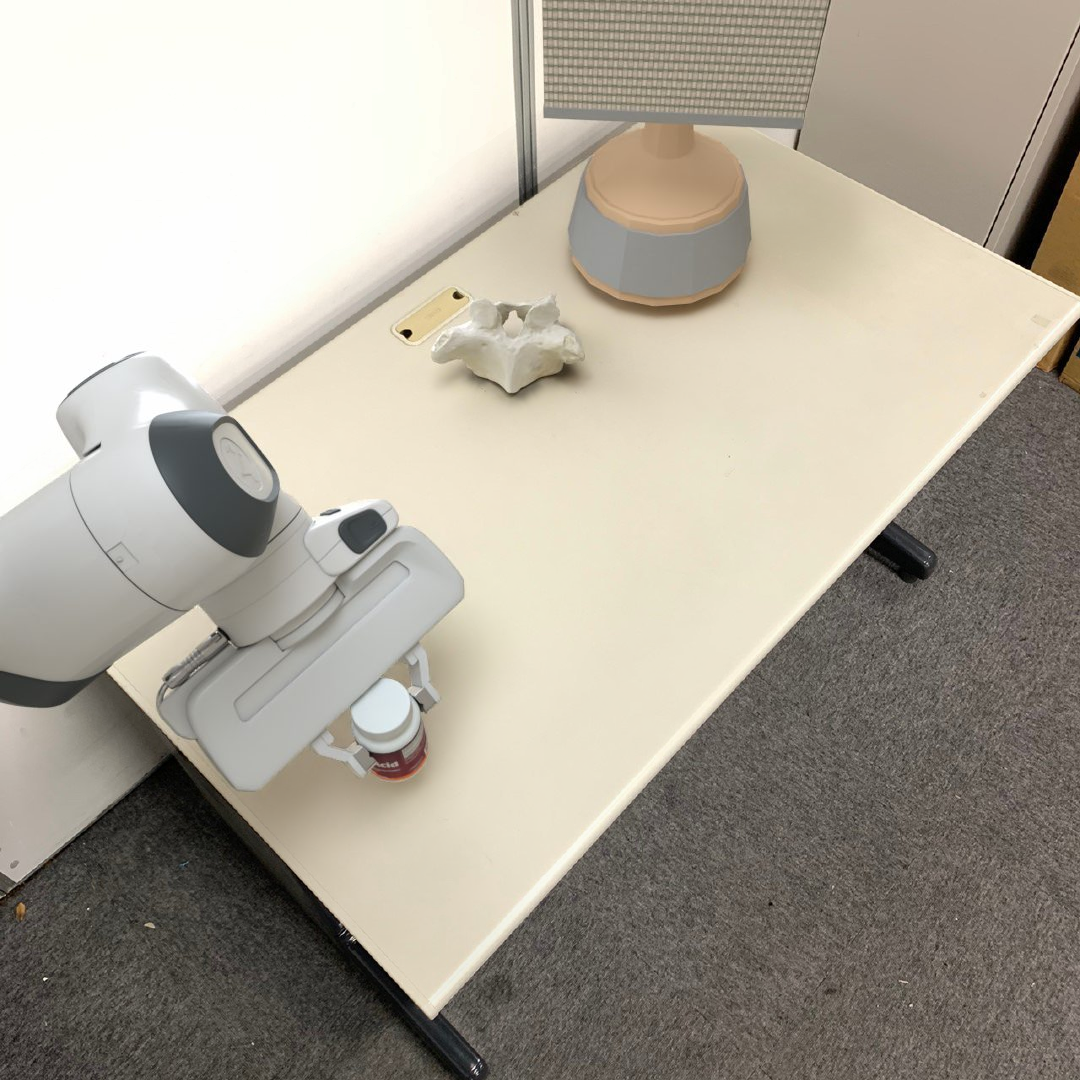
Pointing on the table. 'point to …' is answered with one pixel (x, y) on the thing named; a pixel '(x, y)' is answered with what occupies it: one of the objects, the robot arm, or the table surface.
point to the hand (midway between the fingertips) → (399, 736)
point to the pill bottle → (390, 730)
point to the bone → (510, 342)
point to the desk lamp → (672, 130)
